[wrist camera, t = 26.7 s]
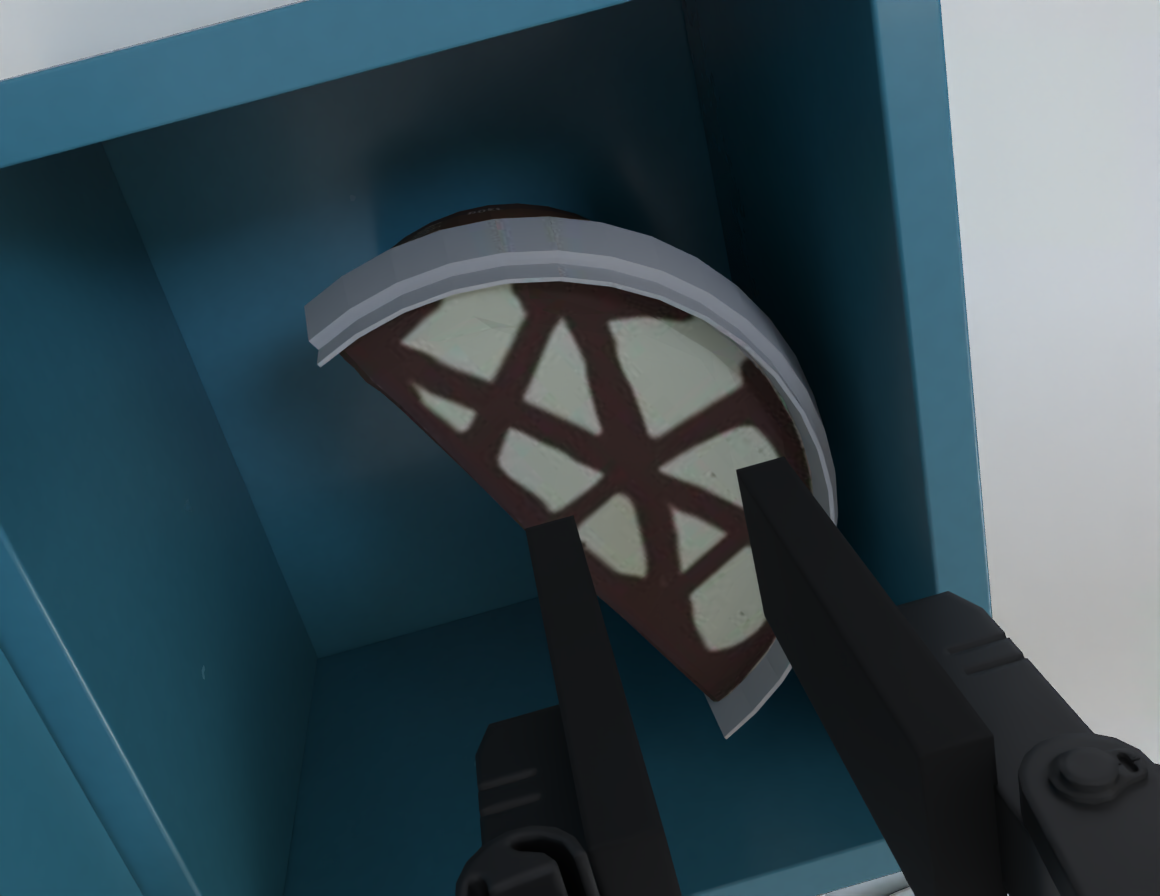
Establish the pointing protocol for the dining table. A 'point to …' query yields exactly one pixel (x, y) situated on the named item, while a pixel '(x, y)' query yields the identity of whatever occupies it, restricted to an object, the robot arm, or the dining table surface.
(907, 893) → the lidded bowl
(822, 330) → the box
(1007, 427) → the dining table surface
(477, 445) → the food container
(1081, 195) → the dining table surface
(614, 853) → the robot arm
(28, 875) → the freezer lid
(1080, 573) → the dining table surface
